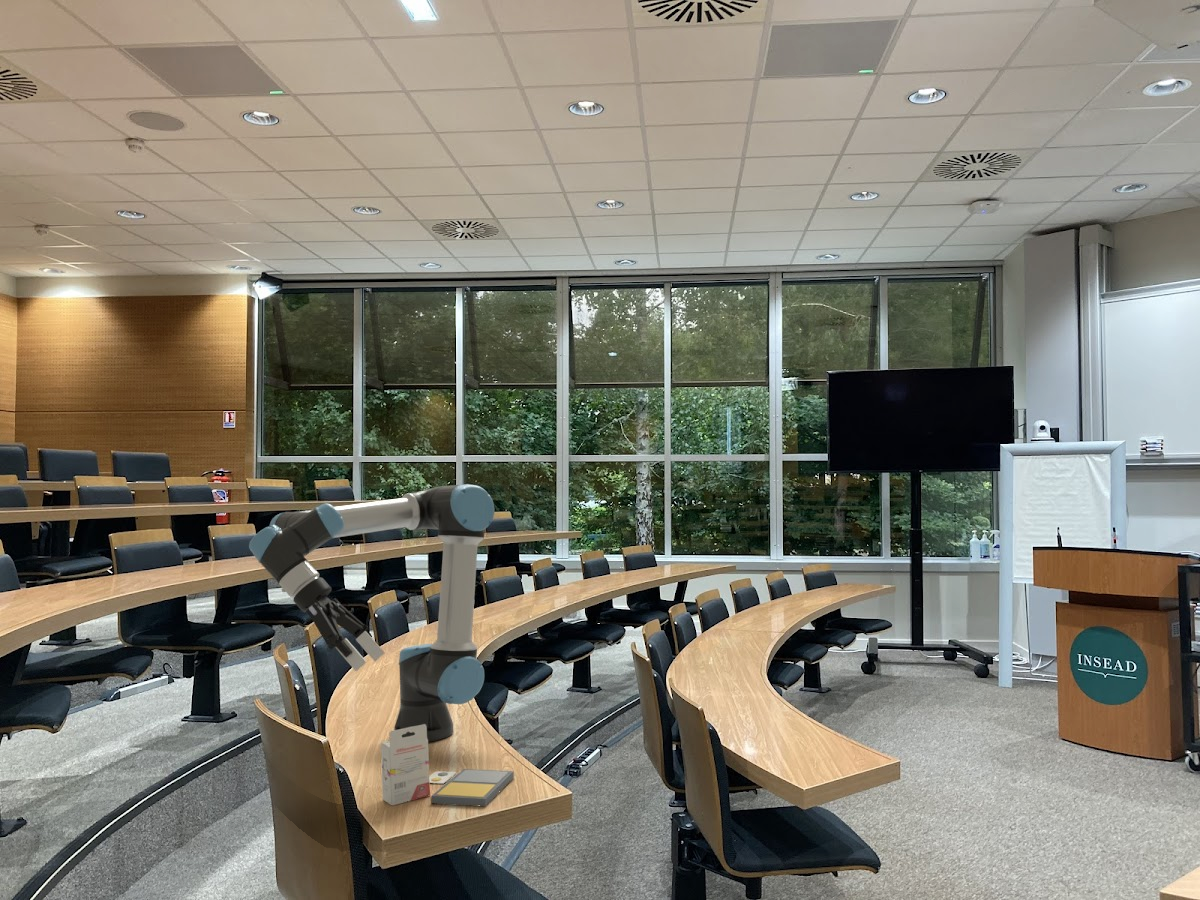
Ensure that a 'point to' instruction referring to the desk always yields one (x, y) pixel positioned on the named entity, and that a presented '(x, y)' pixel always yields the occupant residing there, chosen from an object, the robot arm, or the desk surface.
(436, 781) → the pattern card
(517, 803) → the desk surface
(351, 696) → the desk surface
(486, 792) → the pad board
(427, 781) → the ink cartridge box
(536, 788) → the desk surface
